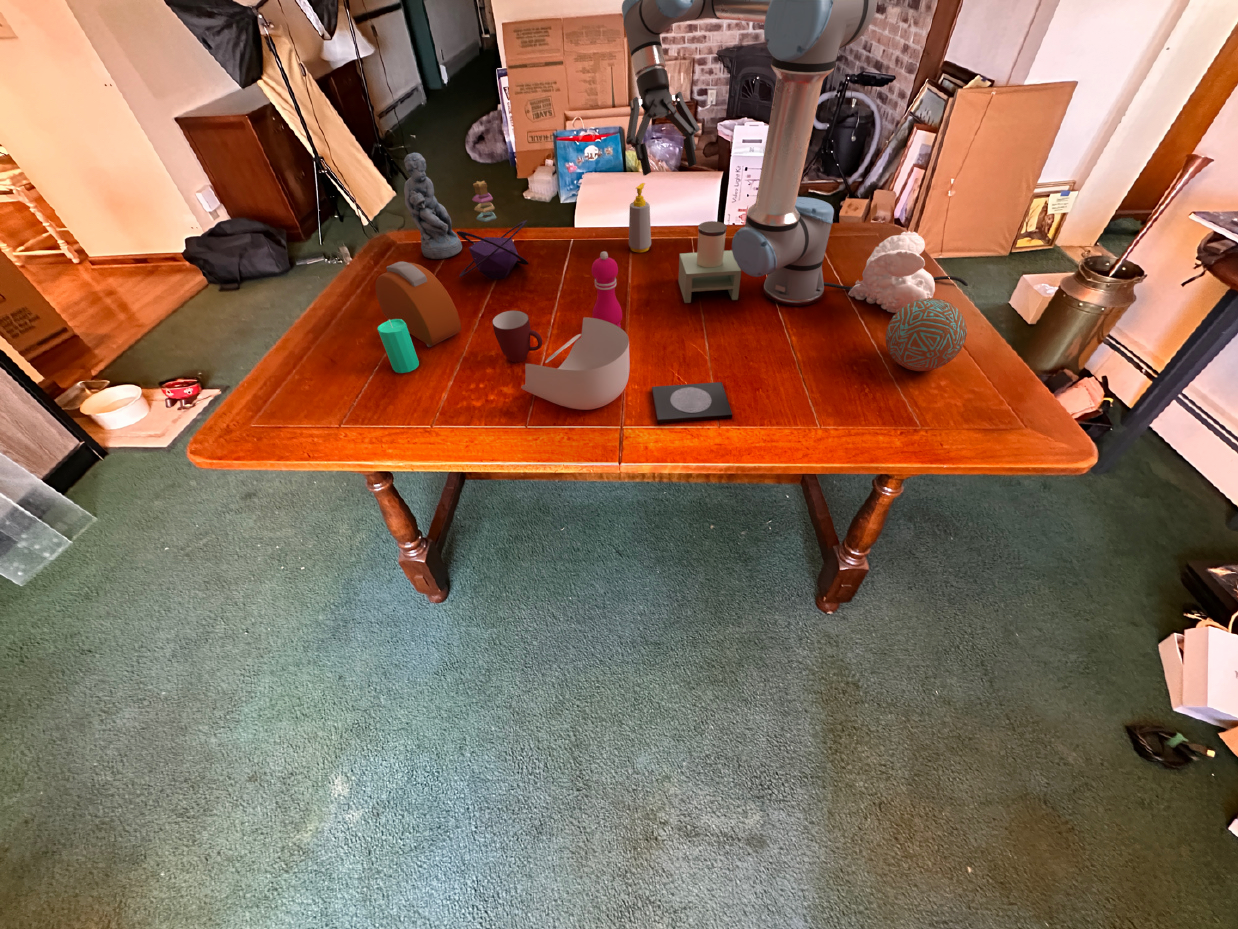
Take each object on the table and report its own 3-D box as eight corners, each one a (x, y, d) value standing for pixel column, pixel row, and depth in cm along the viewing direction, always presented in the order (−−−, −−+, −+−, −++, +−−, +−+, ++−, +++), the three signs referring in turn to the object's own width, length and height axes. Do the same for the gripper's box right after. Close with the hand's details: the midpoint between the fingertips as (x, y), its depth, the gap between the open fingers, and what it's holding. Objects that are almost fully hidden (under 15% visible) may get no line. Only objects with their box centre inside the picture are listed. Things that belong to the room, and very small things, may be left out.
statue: (447, 273, 171) (454, 188, 150) (381, 239, 170) (379, 150, 150) (467, 256, 179) (477, 173, 158) (403, 223, 178) (405, 136, 158)
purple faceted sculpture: (551, 268, 162) (539, 176, 145) (503, 299, 150) (484, 203, 132) (493, 253, 171) (475, 164, 154) (444, 281, 159) (418, 188, 141)
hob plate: (721, 386, 119) (721, 381, 118) (731, 419, 111) (732, 414, 111) (651, 391, 119) (651, 386, 118) (657, 424, 111) (657, 419, 110)
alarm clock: (466, 338, 137) (449, 273, 125) (435, 353, 132) (414, 288, 120) (414, 307, 148) (394, 246, 137) (384, 321, 144) (360, 258, 132)
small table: (728, 278, 154) (731, 250, 148) (737, 299, 145) (741, 270, 140) (678, 281, 154) (679, 253, 148) (684, 303, 145) (686, 273, 140)
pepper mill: (619, 340, 134) (616, 259, 120) (590, 338, 135) (583, 257, 121) (625, 324, 139) (623, 245, 124) (597, 322, 140) (591, 243, 126)
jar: (720, 255, 147) (723, 220, 140) (725, 266, 142) (729, 231, 135) (694, 256, 146) (696, 221, 140) (698, 268, 141) (700, 233, 135)
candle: (395, 375, 126) (377, 329, 118) (390, 362, 130) (372, 316, 122) (421, 368, 128) (406, 321, 120) (415, 355, 132) (400, 309, 124)
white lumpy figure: (963, 296, 125) (898, 237, 123) (889, 352, 139) (830, 301, 138) (964, 265, 137) (905, 211, 136) (896, 320, 152) (842, 272, 150)
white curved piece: (596, 431, 110) (592, 382, 102) (521, 401, 118) (511, 353, 110) (646, 378, 122) (646, 331, 114) (575, 354, 130) (570, 309, 121)
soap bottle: (654, 245, 171) (655, 183, 158) (646, 254, 166) (646, 191, 154) (634, 242, 173) (633, 180, 160) (625, 251, 169) (623, 188, 156)
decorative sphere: (862, 356, 125) (881, 294, 115) (914, 339, 129) (937, 278, 119) (911, 392, 116) (938, 329, 105) (966, 373, 119) (997, 310, 109)
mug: (548, 348, 132) (542, 310, 125) (542, 368, 126) (536, 329, 119) (504, 348, 133) (496, 310, 126) (497, 367, 127) (488, 329, 120)
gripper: (685, 75, 141) (702, 166, 147) (598, 85, 132) (620, 181, 138) (702, 61, 134) (719, 157, 140) (612, 71, 125) (634, 172, 131)
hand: (670, 169), depth 139 cm, fingers open, 13 cm apart
